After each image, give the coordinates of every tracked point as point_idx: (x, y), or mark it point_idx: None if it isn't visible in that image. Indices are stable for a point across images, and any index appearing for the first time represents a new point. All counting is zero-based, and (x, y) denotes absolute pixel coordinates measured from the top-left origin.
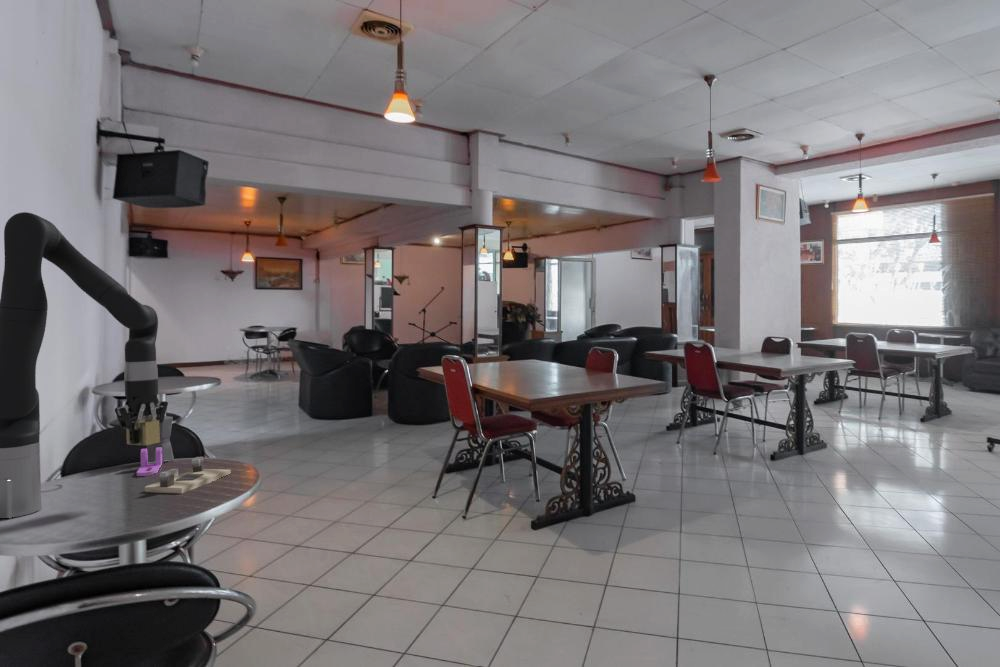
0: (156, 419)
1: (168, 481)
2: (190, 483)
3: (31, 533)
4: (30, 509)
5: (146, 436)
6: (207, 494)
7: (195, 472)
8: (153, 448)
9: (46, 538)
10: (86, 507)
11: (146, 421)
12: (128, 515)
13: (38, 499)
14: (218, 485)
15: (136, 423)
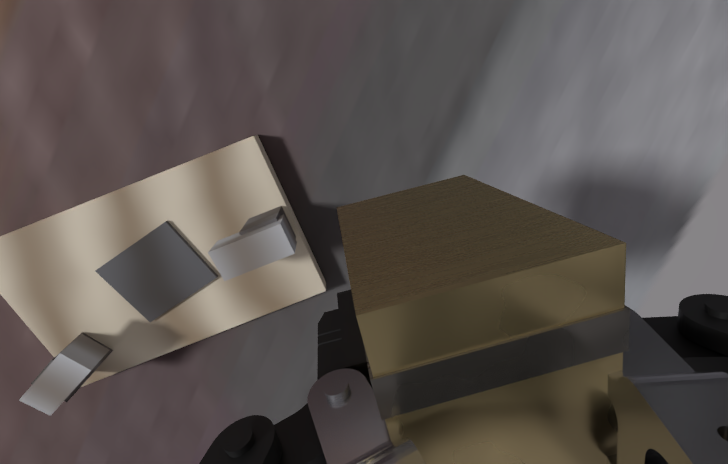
0: (324, 450)
1: (273, 213)
2: (196, 176)
3: (697, 126)
4: None
5: (495, 190)
6: (195, 7)
7: (108, 334)
8: None
9: (722, 24)
10: None
11: (541, 347)
12: (501, 25)
13: None
14: (99, 111)
15: (654, 350)
